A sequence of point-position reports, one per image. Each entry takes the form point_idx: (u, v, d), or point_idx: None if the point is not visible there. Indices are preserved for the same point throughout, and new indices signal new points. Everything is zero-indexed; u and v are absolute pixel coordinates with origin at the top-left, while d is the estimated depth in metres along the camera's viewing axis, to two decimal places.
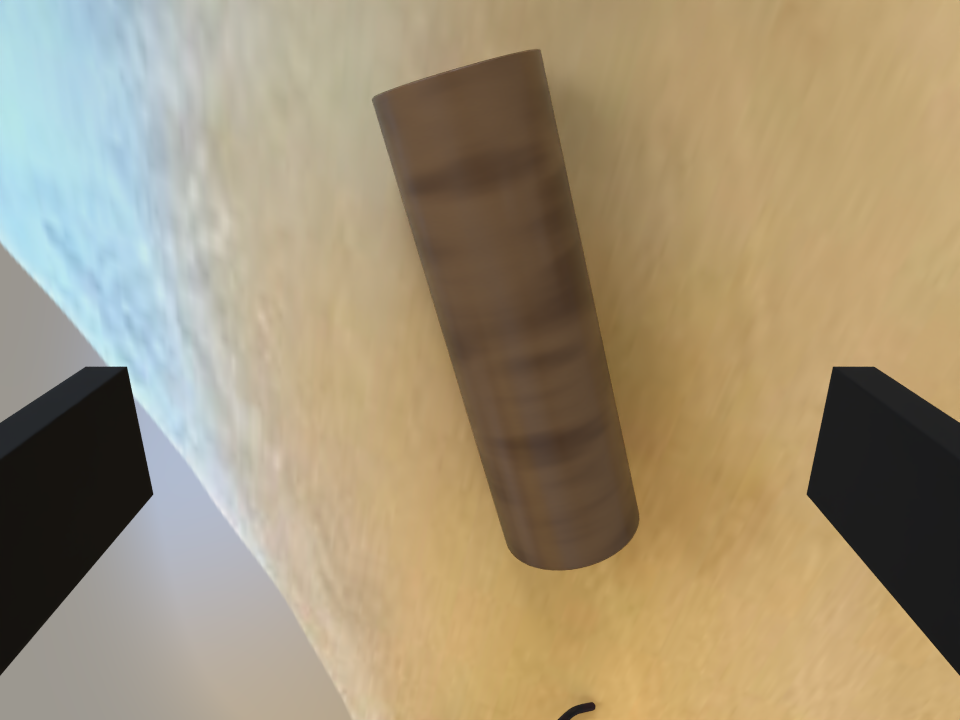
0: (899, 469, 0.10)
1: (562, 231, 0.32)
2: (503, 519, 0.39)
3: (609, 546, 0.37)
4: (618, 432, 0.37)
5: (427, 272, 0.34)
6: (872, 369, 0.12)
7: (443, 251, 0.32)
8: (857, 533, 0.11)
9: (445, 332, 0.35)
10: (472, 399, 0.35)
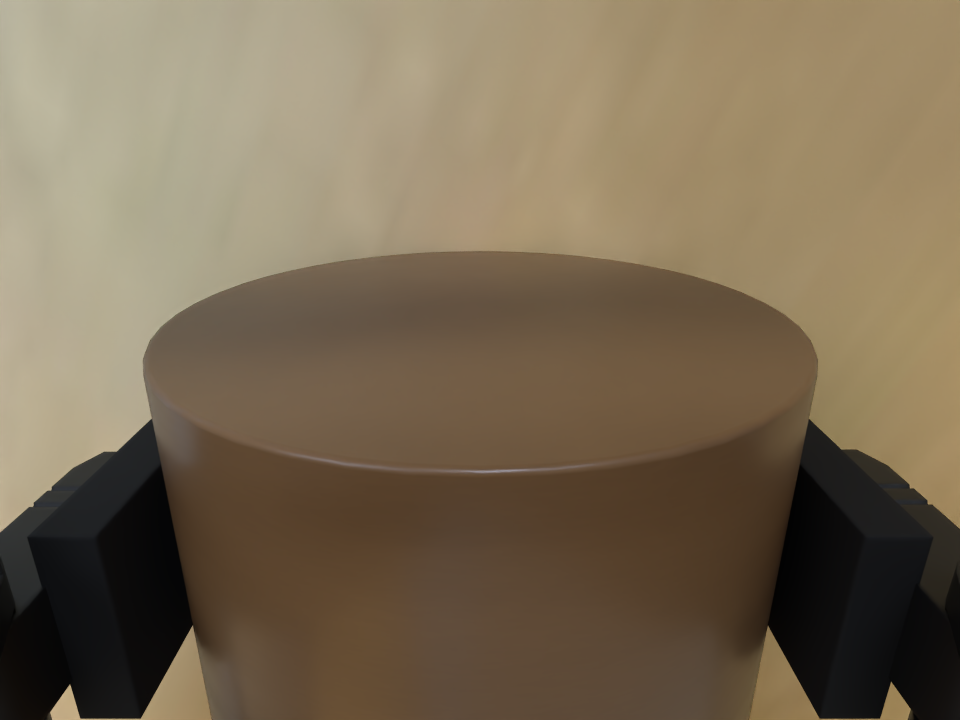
0: None
1: None
2: None
3: None
4: None
5: None
6: None
7: None
8: None
9: None
10: None
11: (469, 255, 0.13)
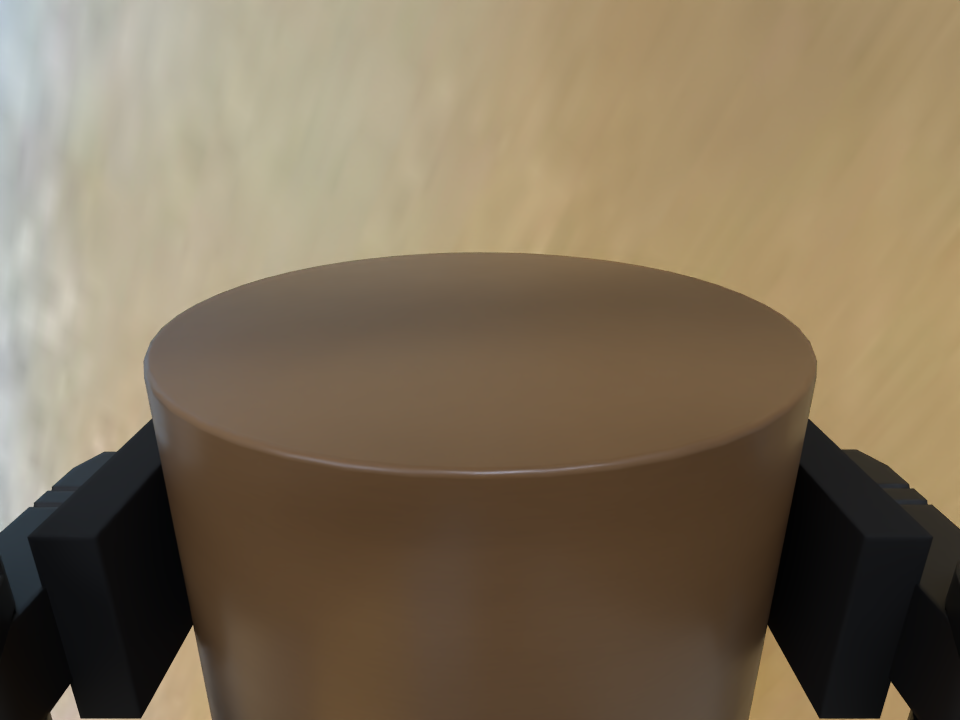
0: None
1: None
2: None
3: None
4: None
5: None
6: None
7: None
8: None
9: None
10: None
11: (469, 256, 0.13)
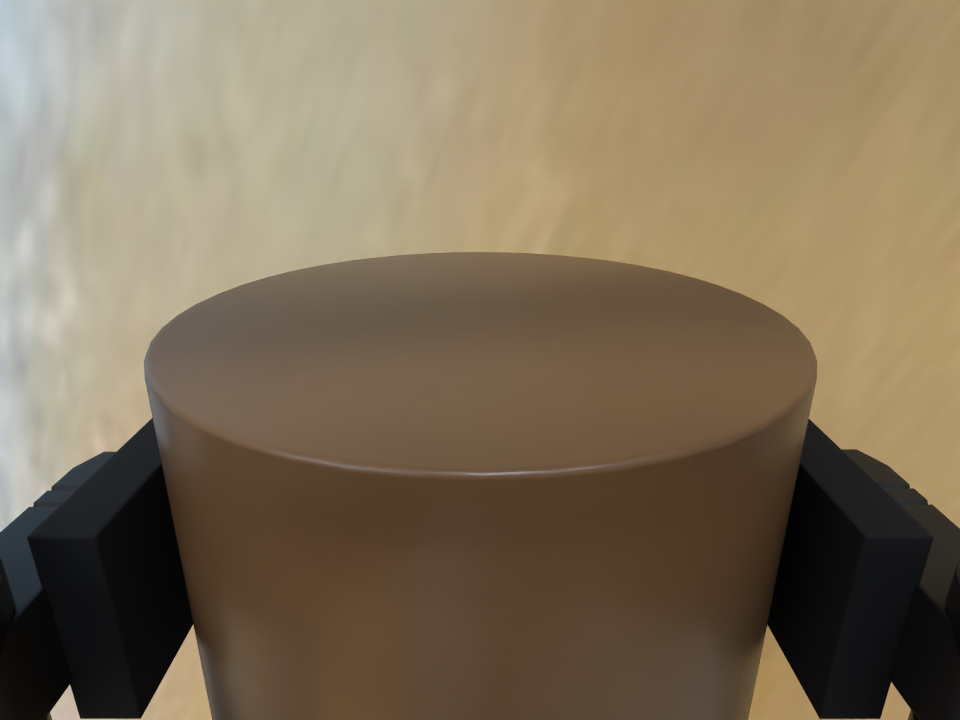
0: None
1: None
2: None
3: None
4: None
5: None
6: None
7: None
8: None
9: None
10: None
11: (469, 256, 0.13)
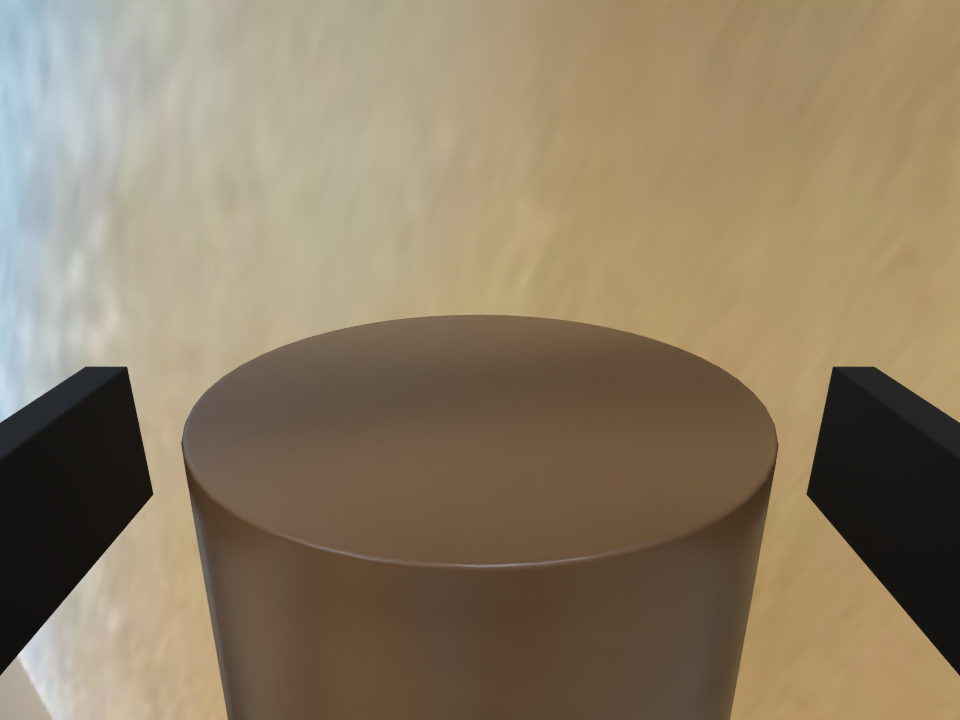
0: (899, 469, 0.10)
1: None
2: None
3: None
4: None
5: None
6: (872, 369, 0.12)
7: None
8: (857, 533, 0.11)
9: None
10: None
11: (469, 320, 0.14)
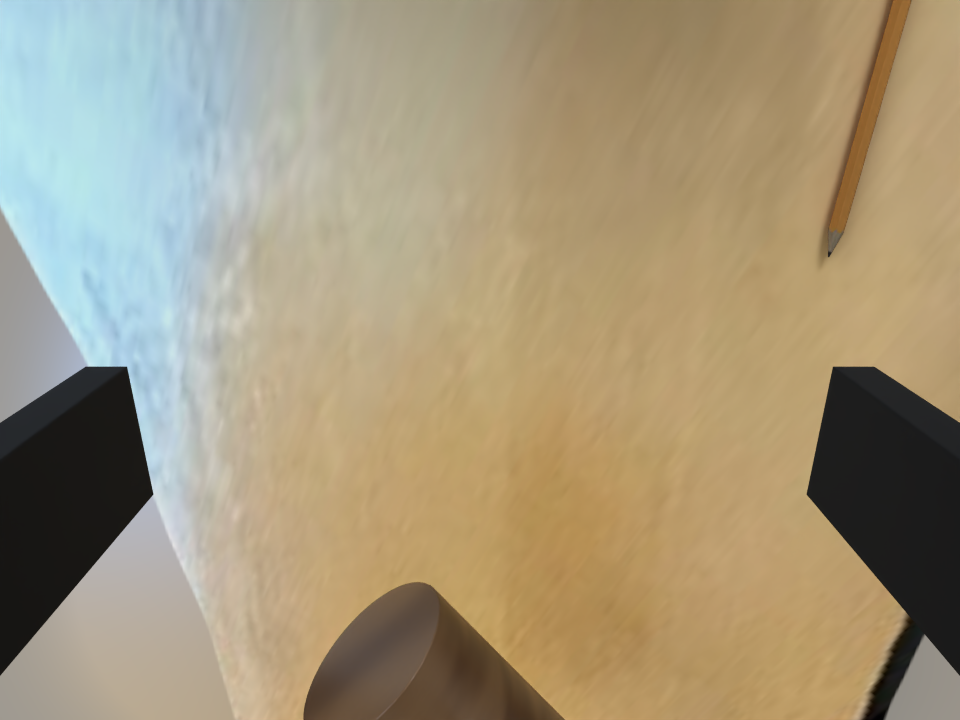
0: (900, 469, 0.10)
1: None
2: None
3: None
4: None
5: None
6: (872, 369, 0.12)
7: None
8: (857, 533, 0.11)
9: None
10: None
11: (379, 602, 0.35)
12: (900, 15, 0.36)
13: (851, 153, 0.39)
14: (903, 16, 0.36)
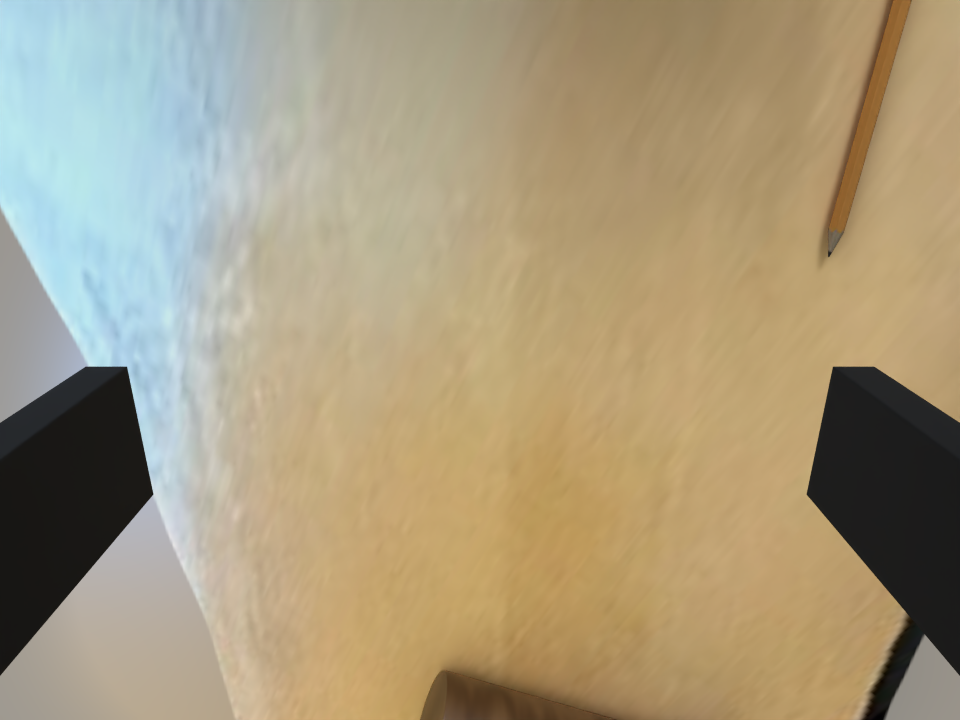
0: (899, 469, 0.10)
1: None
2: None
3: None
4: None
5: None
6: (872, 369, 0.12)
7: None
8: (857, 534, 0.11)
9: None
10: None
11: (431, 689, 0.55)
12: (901, 15, 0.36)
13: (851, 153, 0.39)
14: (904, 16, 0.36)
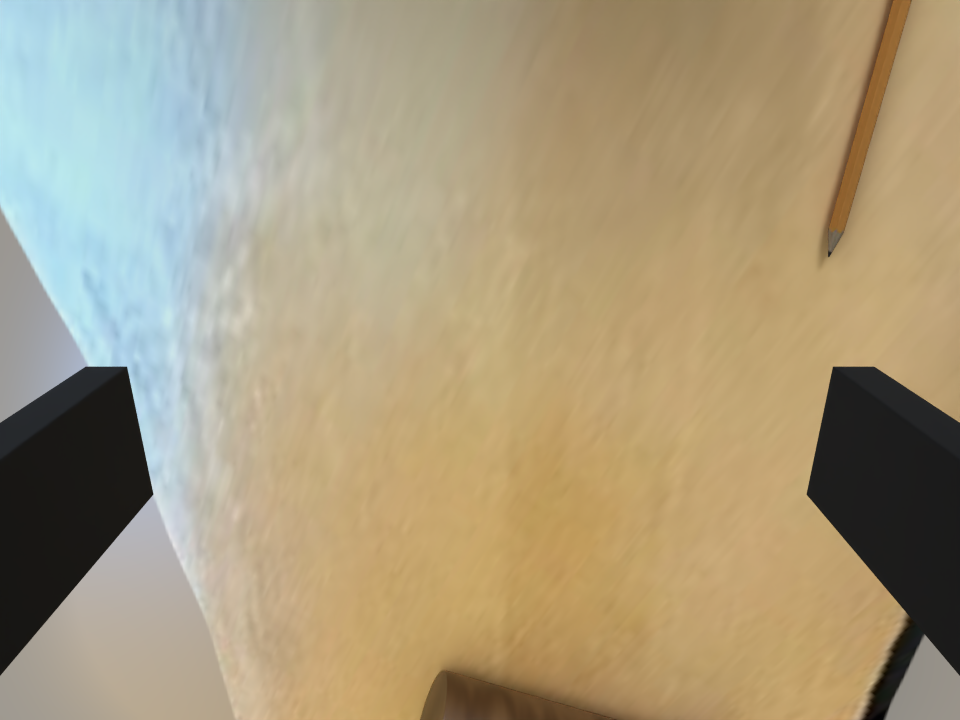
0: (899, 469, 0.10)
1: None
2: None
3: None
4: None
5: None
6: (872, 369, 0.12)
7: None
8: (857, 534, 0.11)
9: None
10: None
11: (431, 689, 0.55)
12: (901, 15, 0.36)
13: (851, 153, 0.39)
14: (904, 16, 0.36)
